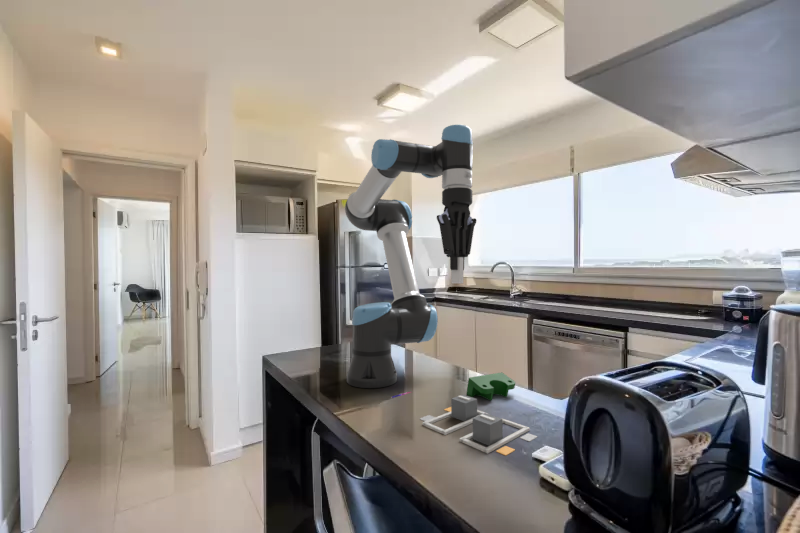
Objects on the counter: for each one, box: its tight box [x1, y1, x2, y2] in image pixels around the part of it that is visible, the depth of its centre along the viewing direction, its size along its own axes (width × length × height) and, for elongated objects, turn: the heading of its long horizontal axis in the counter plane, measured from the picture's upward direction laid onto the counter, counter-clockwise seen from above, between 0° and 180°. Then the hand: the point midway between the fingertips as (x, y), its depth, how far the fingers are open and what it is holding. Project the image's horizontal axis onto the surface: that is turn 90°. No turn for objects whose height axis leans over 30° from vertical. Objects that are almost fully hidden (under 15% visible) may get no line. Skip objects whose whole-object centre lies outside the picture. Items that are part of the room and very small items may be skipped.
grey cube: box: [472, 412, 504, 447], centre depth 72 cm, size 4×4×4 cm
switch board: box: [419, 406, 539, 457], centre depth 78 cm, size 24×18×2 cm
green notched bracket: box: [466, 372, 516, 401], centre depth 97 cm, size 12×6×9 cm, turn 111°
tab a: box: [450, 394, 478, 422], centre depth 83 cm, size 4×4×4 cm
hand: (457, 283), depth 94 cm, fingers closed
